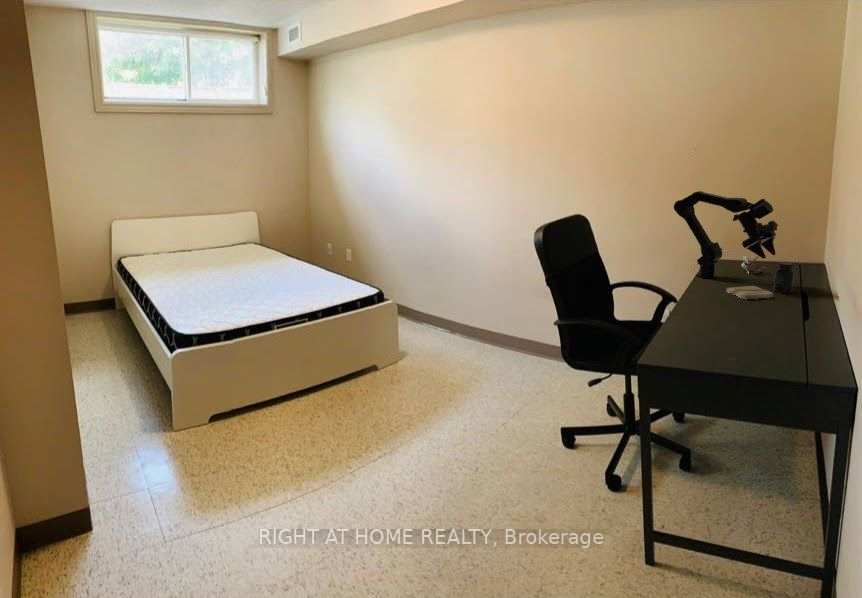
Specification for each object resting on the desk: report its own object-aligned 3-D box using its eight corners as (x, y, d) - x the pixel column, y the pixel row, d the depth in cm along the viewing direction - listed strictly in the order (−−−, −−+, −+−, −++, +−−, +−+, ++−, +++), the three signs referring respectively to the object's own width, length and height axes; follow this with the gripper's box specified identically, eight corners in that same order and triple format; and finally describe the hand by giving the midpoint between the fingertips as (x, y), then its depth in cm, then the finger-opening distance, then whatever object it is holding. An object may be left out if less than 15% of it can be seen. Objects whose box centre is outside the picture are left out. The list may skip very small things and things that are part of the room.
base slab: (726, 292, 249) (726, 287, 249) (752, 290, 251) (753, 285, 250) (745, 300, 238) (745, 295, 237) (772, 298, 239) (773, 292, 239)
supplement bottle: (795, 293, 244) (799, 265, 241) (778, 294, 244) (782, 265, 241) (786, 289, 251) (790, 261, 247) (769, 289, 251) (773, 261, 248)
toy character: (757, 282, 278) (735, 271, 276) (752, 272, 284) (731, 261, 283) (773, 266, 271) (750, 255, 270) (768, 256, 278) (746, 245, 277)
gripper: (757, 217, 242) (777, 250, 238) (777, 212, 253) (797, 243, 249) (733, 231, 251) (752, 263, 247) (753, 225, 262) (772, 256, 258)
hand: (769, 256), depth 250 cm, fingers open, 9 cm apart
